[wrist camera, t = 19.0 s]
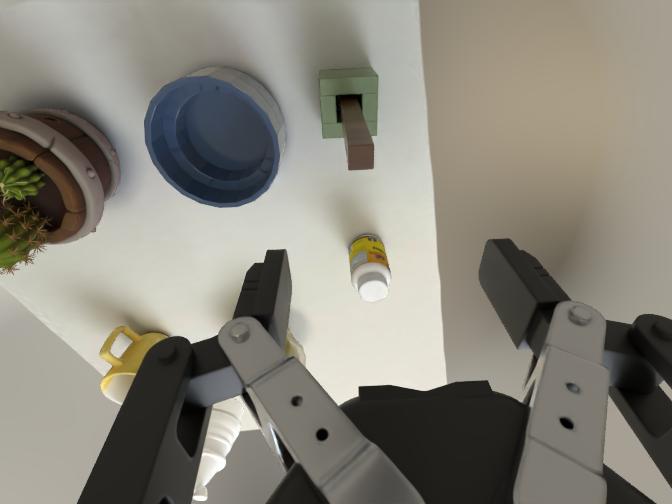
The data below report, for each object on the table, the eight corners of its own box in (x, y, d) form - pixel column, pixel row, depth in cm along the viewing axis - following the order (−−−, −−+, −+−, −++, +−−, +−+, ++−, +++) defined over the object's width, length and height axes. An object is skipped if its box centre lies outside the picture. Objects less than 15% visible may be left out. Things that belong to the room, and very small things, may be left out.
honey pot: (230, 389, 74) (206, 482, 59) (251, 418, 81) (235, 507, 67) (176, 397, 75) (140, 490, 61) (202, 425, 83) (176, 514, 68)
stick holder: (319, 70, 38) (318, 78, 33) (371, 67, 38) (378, 75, 33) (323, 124, 41) (322, 138, 36) (370, 121, 41) (376, 135, 36)
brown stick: (338, 90, 39) (347, 145, 23) (354, 89, 39) (374, 144, 23) (339, 106, 40) (348, 170, 24) (354, 105, 40) (373, 169, 24)
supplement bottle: (390, 251, 53) (402, 295, 44) (360, 267, 55) (366, 312, 46) (372, 226, 50) (381, 269, 42) (341, 244, 52) (344, 288, 43)
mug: (194, 355, 67) (175, 405, 58) (146, 361, 67) (120, 411, 59) (163, 307, 59) (135, 356, 50) (108, 314, 60) (72, 365, 51)
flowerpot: (-19, 94, 38) (-272, 154, 22) (114, 88, 38) (-42, 145, 22) (48, 206, 47) (-98, 309, 31) (157, 202, 47) (68, 302, 31)
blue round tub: (154, 69, 37) (121, 80, 31) (277, 62, 37) (268, 72, 31) (191, 183, 45) (170, 210, 39) (292, 178, 45) (287, 204, 39)
